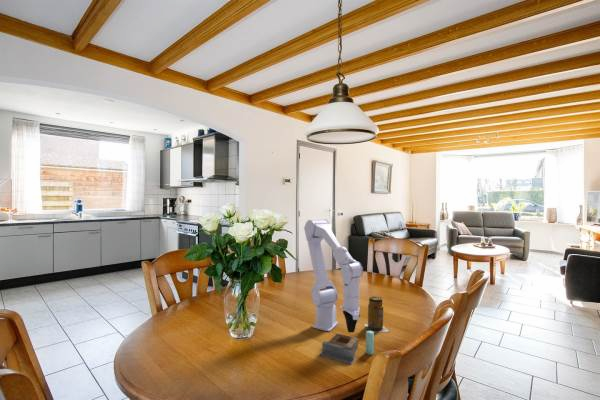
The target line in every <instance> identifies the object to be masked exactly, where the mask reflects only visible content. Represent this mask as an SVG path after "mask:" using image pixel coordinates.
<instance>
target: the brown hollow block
mask: <svg viewBox="0 0 600 400" xmlns="http://www.w3.org/2000/svg"><path fill="white" fill-rule="evenodd" d="M328 342H329V343H333V344H336V345H340V346H344V347H348V348H352V349H355V353H356V352H357V350H358V349H359V338H357V337H354V336H351V335H350V336H349V335H345V334H341V333H336V334H335V335H334V336H333V337H332V338H330V340H328Z"/></svg>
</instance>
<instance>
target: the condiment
mask: <svg viewBox="0 0 600 400" xmlns="http://www.w3.org/2000/svg"><path fill="white" fill-rule="evenodd" d="M367 308H368V309H367V323H365V324H363V326H364V327H366V329H368V331H373V332H374V334H377V333H388V332H390V330H389V329H388V328H386V327H385V326H384V305H383V298H382V297H379V296H370V297H369V299H368V305H367Z"/></svg>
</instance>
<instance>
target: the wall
mask: <svg viewBox="0 0 600 400" xmlns="http://www.w3.org/2000/svg"><path fill="white" fill-rule="evenodd" d="M321 347H322V349H321V350H322V351H321V352H320V353H319V357H324V358H326V359H327V358H328V359H331V360H335V361H338V362H341V363H344V364H348V365H352V364H353V363H354V361H355V354H356V352H355V349H352V348H348V347H344V346H340V345H336V344H333V343H329V341H328V342H327V341H322V343H321Z"/></svg>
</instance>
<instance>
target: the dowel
mask: <svg viewBox="0 0 600 400" xmlns="http://www.w3.org/2000/svg"><path fill="white" fill-rule="evenodd" d="M365 341H366V342H365V353H366V354H367V355H370V356H371V355H374V354H373V353H375V352H374V349H375V345H374V344H375V333H374V332H373V331H370V330H367V331H365Z"/></svg>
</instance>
